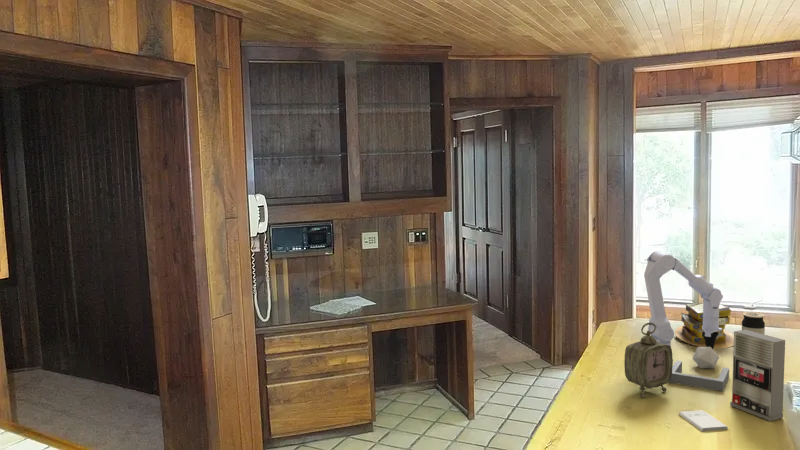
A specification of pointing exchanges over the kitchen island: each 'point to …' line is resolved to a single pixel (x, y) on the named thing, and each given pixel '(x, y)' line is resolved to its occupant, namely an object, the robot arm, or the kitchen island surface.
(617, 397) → the kitchen island surface
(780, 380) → the cassette tape recorder
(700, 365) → the die
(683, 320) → the stack of yellow books
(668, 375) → the tabletop clock
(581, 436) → the kitchen island surface
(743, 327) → the travel mug
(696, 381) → the grey bracket
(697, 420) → the external hard drive
